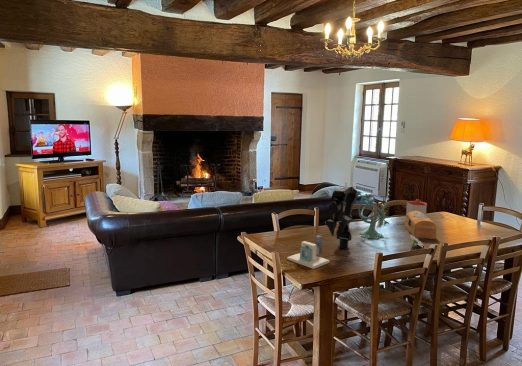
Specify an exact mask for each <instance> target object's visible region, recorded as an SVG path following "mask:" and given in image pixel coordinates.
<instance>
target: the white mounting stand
mask: <svg viewBox="0 0 522 366" xmlns="http://www.w3.org/2000/svg"><path fill="white" fill-rule="evenodd" d="M300 246H301V247H306V248H307V246H309V249H312V252H311V261H306V260H303V259H300V252H299V253H295V254H292V255H290V256H286V257H287V261H290V262H293V263H296V264H299V265H302V266H305V267H307V268H310V269H312V270H314V269H317V268H319V267H321V266H324V265H327V264H330V259H327V258H324V257H321V256H319V255H316V244H314V242H313V243H312V242H309V241H306V240H303V241H301V245H300ZM304 256H306V257H307V252H306V251H304Z"/></svg>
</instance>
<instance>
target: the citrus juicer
mask: <svg viewBox="0 0 522 366" xmlns="http://www.w3.org/2000/svg"><path fill="white" fill-rule="evenodd" d="M427 205H428V203H427V202H424V201H420V200H419V199H415V200H410V202H408V201H407V202H406V205H405V208H406V212H405V213H406V214H405V216H406V215H407V214H408V213H410V212H412V211H419V212H422V213H423V214H424V215H426V216H427V207H428V206H427Z"/></svg>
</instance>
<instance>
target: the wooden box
mask: <svg viewBox="0 0 522 366" xmlns="http://www.w3.org/2000/svg"><path fill="white" fill-rule="evenodd" d="M404 228H405V229H406V230H407V231H408V232H409V234H412V235H413V237H414V236H415V238H418V239H424V238H429V240H436V238H437V224H436V223H435V222H434V221H432V220H431V218H430V217H428V216H427V214H426V215H424V214H423V213H422V212H419V211H412V212H410V213H408V214H407V215H406V214H405V221H404Z"/></svg>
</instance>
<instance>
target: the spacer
mask: <svg viewBox="0 0 522 366" xmlns="http://www.w3.org/2000/svg"><path fill="white" fill-rule="evenodd" d="M304 251H306V252H307V257H306V256H304ZM311 252H312V249H309V248H306V247H300V249H299V253H300V259H303V260H306V261H311Z"/></svg>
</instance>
